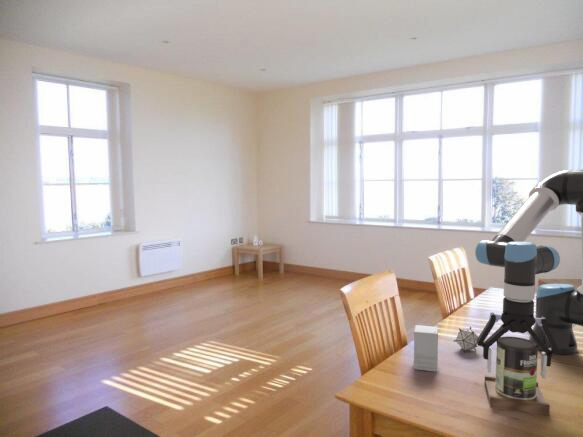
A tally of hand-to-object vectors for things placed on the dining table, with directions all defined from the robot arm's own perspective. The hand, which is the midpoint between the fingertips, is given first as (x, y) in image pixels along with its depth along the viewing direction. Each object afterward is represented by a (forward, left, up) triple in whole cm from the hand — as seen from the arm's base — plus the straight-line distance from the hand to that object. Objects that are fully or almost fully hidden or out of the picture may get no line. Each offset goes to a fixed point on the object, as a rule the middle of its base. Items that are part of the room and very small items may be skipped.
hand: (515, 373), depth 121 cm
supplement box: (+24, -15, -8) cm, 29 cm away
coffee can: (0, 0, -5) cm, 5 cm away
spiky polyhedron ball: (+10, -34, -8) cm, 36 cm away
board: (0, 0, -7) cm, 7 cm away
